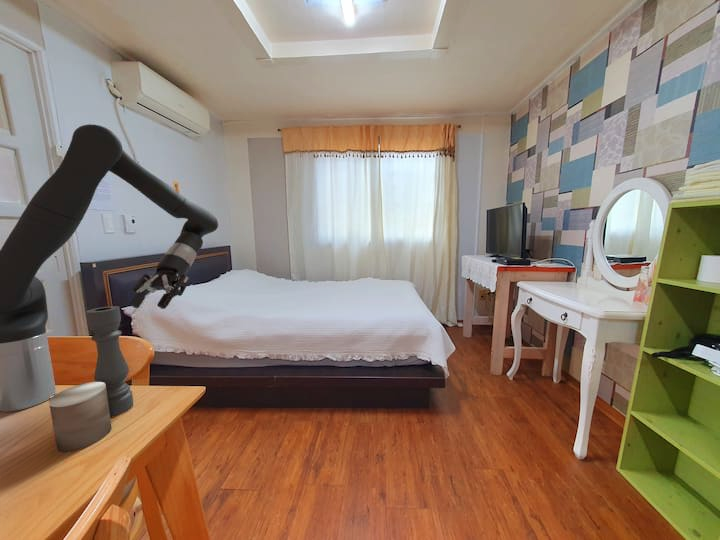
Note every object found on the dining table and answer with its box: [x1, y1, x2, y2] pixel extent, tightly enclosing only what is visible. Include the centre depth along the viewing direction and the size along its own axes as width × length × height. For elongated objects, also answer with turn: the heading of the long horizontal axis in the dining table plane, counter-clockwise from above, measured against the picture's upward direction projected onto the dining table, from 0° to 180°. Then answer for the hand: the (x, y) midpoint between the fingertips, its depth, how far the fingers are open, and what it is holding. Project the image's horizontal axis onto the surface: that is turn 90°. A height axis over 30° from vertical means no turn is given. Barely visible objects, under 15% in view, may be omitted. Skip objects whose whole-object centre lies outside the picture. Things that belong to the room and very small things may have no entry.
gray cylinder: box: [48, 381, 112, 453], centre depth 56 cm, size 8×8×10 cm
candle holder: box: [85, 305, 134, 418], centre depth 64 cm, size 6×6×25 cm
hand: (147, 307), depth 73 cm, fingers open, 8 cm apart
